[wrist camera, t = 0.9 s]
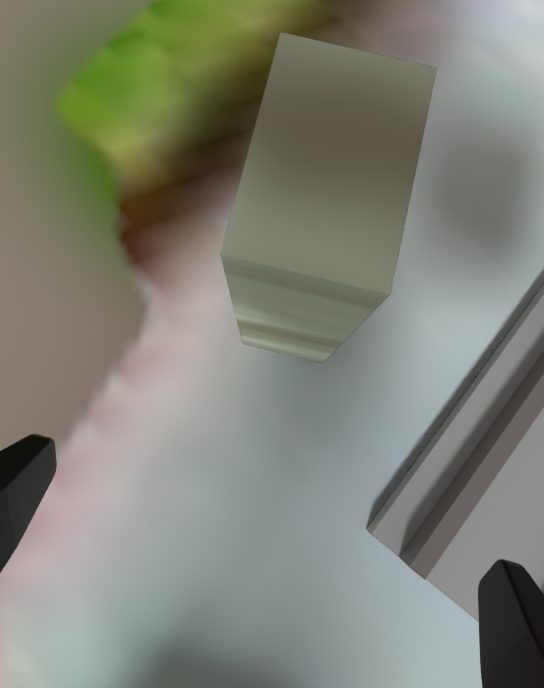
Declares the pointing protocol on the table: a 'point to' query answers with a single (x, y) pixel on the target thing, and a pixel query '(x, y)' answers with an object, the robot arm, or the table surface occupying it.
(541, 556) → the door track
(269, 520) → the table surface
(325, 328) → the grey green block
